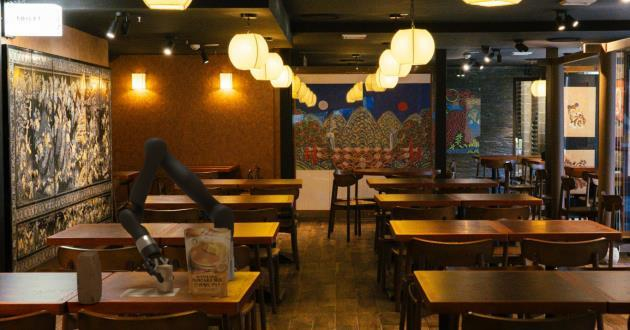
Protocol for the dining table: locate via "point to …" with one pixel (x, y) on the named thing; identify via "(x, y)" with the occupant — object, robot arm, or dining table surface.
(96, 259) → the block
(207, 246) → the pancake mix bag
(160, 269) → the tan tall block
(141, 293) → the birch board
